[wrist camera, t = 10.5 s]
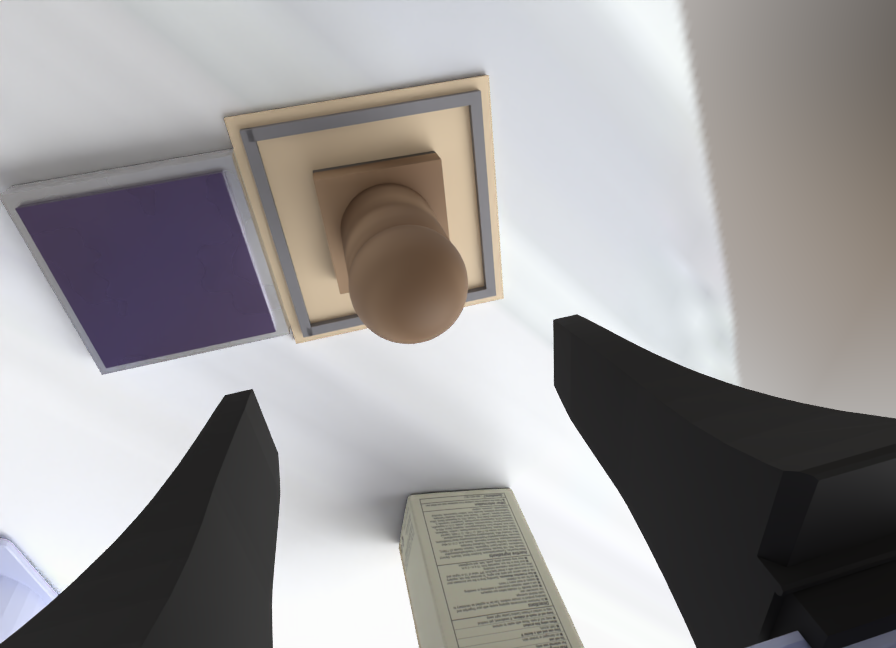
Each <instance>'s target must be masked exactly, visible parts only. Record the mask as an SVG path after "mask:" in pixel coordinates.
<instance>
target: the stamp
mask: <svg viewBox="0 0 896 648" xmlns="http://www.w3.org/2000/svg"><path fill="white" fill-rule="evenodd" d="M313 181H314V185H315V189H316V193H317V198H318V202H319V206H320V210H321V215H322V219H323V223H324V228H325V232H326V236H327V240H328V245H329V249H330V253H331V257H332V262H333V266H334V270H335V274H336V279H337V283H338V287H339V292H340V294H345V293H349V295H350V299H351V302H352V305H353V308H354V310H355V312H356V314H357V315H358V317H359V318H360V320H361V321H362V322H363V323H364V324H365V326H366V327H368V328H369V329H370V330H371V331H372V332H374V333H375V334H377V335H378V336H380V337H382V338H384V339H386V340H389V341H392V342H396V343H402V344H415V343H421V342H425V341H428V340H431V339H433V338H435V337H437V336H439V335H440V334H442V333H443V332H445V331H446V330H447V329H449V328H450V327H451V326H452V325H453V324H454V322H455V321H456V320H457V318H458V317H459V315H460V313H461V312H462V310H463V307H464V305H465V302H466V298H467V293H468V276H467V270H466V267H465V264H464V261H463V259H462V257H461V255H460V253H459V252H458V250H457V249H456V247H455V246H454V245H453V244H452V243H451V241H450V238H449V228H448V219H447V209H446V199H445V190H444V180H443V170H442V161H441V158H440V157H439V156H438V155H437V153H436V152H435V151H429V152H423V153H417V154H411V155H405V156H399V157H392V158H386V159H380V160H374V161H368V162H362V163H355V164H349V165H343V166H337V167H331V168H325V169H318V170H313Z"/></svg>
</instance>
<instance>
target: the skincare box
mask: <svg viewBox="0 0 896 648" xmlns="http://www.w3.org/2000/svg"><path fill="white" fill-rule="evenodd" d="M399 550H400V555H401V560H402V565H403V570H404V575H405V580H406V585H407V590H408V594H409V599H410V604H411V609H412V614H413V619H414V624H415V629H416V634H417V639H418V644H419V648H584V646H583V644H582V642H581V640H580V638H579V636H578V633H577V631H576V629H575V627H574V624H573V622H572V620H571V618H570V615H569V613H568V611H567V609H566V607H565V605H564V602H563V600H562V598H561V596H560V594H559V592H558V589H557V587H556V585H555V583H554V581H553V578H552V576H551V574H550V572H549V570H548V568H547V566H546V563H545V561H544V559H543V557H542V555H541V552H540V550H539V548H538V546H537V544H536V541H535V539H534V537H533V535H532V533H531V531H530V528H529V526H528V524H527V522H526V520H525V518H524V515H523V513H522V511H521V509H520V507H519V504H518V502H517V500H516V498H515V496H514V494H513V491H512V490H511V489H509V488H506V489H486V490H471V491H457V492H438V493H429V494H418V495H410V496H409V497H408V499H407V504H406V509H405V513H404V519H403V524H402V530H401V536H400V543H399Z"/></svg>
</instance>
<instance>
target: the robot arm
mask: <svg viewBox="0 0 896 648" xmlns="http://www.w3.org/2000/svg"><path fill="white" fill-rule="evenodd" d="M553 331H554V386H555V388H556V391H557V393H558V395H559V397H560V399H561V401H562V403H563V405H564V407H565V409H566V411H567V413H568V415H569V417H570V419H571V421H572V422H573V424H574V425H575V427H576V428H577V430H578V431H579V433H580V434H581V436H582V437H583V439H584V440H585V442H586V443H587V445H588V446H589V448H590V449H591V451H592V452H593V454H594V455H595V457H596V458H597V460H598V461H599V463H600V464H601V466H602V467H603V469H604V470H605V472H606V473H607V475H608V476H609V478H610V479H611V481H612V482H613V483H614V485H615V486H616V488H617V489H618V491H619V493H620V494H621V496H622V498H623V499H624V501H625V503H626V504H627V506H628V508H629V510H630V512H631V514H632V515H633V517H634V519H635V521H636V523H637V525H638V527H639V529H640V531H641V532H642V534H643V536H644V538H645V540H646V542H647V544H648V546H649V548H650V550H651V552H652V554H653V556H654V558H655V560H656V562H657V564H658V566H659V568H660V570H661V572H662V574H663V576H664V578H665V580H666V582H667V584H668V586H669V589H670V591H671V593H672V595H673V597H674V599H675V601H676V603H677V606H678V608H679V610H680V612H681V614H682V616H683V618H684V620H685V623H686V625H687V627H688V629H689V632H690V634H691V636H692V638H693V641H694V643H695V645H696V648H896V419H895V418H888V417H881V416H874V415H867V414H860V413H853V412H846V411H840V410H834V409H829V408H824V407H819V406H814V405H809V404H803V403H799V402H795V401H791V400H786V399H782V398H778V397H774V396H770V395H767V394H763V393H759V392H756V391H752V390H749V389H745V388H742V387H739V386H736V385H732V384H729V383H726V382H724V381H721V380H718V379H715V378H712V377H709V376H706V375H704V374H701V373H698V372H696V371H693V370H691V369H688V368H686V367H683V366H681V365H679V364H677V363H674V362H672V361H670V360H667V359H665V358H663V357H661V356H658V355H656V354H654V353H652V352H650V351H648V350H646V349H644V348H642V347H640V346H638V345H636V344H634V343H632V342H630V341H628V340H626V339H624V338H622V337H620V336H618V335H616V334H614V333H613V332H611V331H609V330H607V329H605V328H603V327H601V326H599V325H597V324H595V323H594V322H592V321H590V320H588V319H586V318H584V317H581V316H579V315H572V316H568V317H564V318H559V319H555V320H553ZM279 504H280V475H279V459H278V452H277V449H276V447H275V444H274V442H273V439H272V437H271V434H270V432H269V429H268V427H267V424H266V422H265V419H264V417H263V414H262V412H261V409H260V407H259V404H258V402H257V399H256V397H255V394H254V391H253V389H251V390H246V391H242V392H237V393H233V394H229V395H225V396H224V398H223V399H222V401H221V402H220V404H219V405H218V406H217V408H216V409H215V411H214V412H213V414H212V416H211V417H210V419H209V420H208V422H207V423H206V425H205V426H204V428H203V429H202V431H201V432H200V434H199V435H198V437H197V439H196V440H195V442H194V443H193V444H192V446H191V447H190V449H189V450H188V452H187V453H186V455H185V456H184V457H183V459H182V460H181V462H180V463H179V465H178V466H177V468H176V469H175V470H174V471H173V473H172V474H171V475H170V477H169V478H168V479H167V481H166V482H165V483H164V485H163V486H162V487H161V489H160V490H159V491H158V492H157V494H156V495H155V496H154V498H153V499H152V500H151V501H150V503H149V504H148V505H147V506H146V507H145V508H144V510H143V511H142V512H141V513H140V514H139V515H138V517H137V518H136V519H135V520H134V521H133V522H132V523H131V524H130V525H129V527H128V528H127V529H126V530H125V531H124V532H123V533H122V534H121V535H120V536H119V538H118V539H117V540H116V541H115V542H114V543H113V544H112V545H111V546H110V547H109V548H108V549H107V550H106V551H105V552H104V553H103V554H102V555H101V556H100V557H99V558H98V559H96V560H95V561H94V562H93V563H92V564H91V565H90V566H89V567H88V568H87V569H86V570H85V571H84V572H83V573H82V574H81V575H80V576H79V577H78V578H77V579H76V580H75V581H74V582H73V583H72V584H71V585H69V586H68V587H67V588H66V589H65V590H64V591H63V592H62V593H61V594H59V595H58V594H57V593H56V592H55V591H54V590H53V588H52V587H51V586H50V585H49V584H48V583H47V582H46V581H45V579H44V578H43V577H42V576H41V575H40V574H39V573H38V571H37V570H36V569H35V568H34V567H33V566H32V565H31V563H30V562H29V561H28V560H27V559H26V558H25V557H24V556H23V554H22V553H21V552H20V551H19V550H18V549H17V548H16V546H15V545H14V544H13V543H12V542H11V541H9V540H7V539H3V538H0V648H273V638H272V589H273V575H274V563H275V552H276V540H277V529H278V516H279Z"/></svg>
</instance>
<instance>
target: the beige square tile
mask: <svg viewBox="0 0 896 648" xmlns="http://www.w3.org/2000/svg"><path fill="white" fill-rule="evenodd" d="M224 121H225V124H226V127H227V130H228V133H229V136H230V140H231V143H232V146H233V149H234V152H235V155H236V158H237V161H238V164H239V167H240V171H241V174H242V177H243V180H244V183H245V186H246V189H247V192H248V195H249V199H250V202H251V205H252V208H253V211H254V214H255V217H256V220H257V223H258V226H259V230H260V233H261V236H262V239H263V242H264V245H265V248H266V251H267V254H268V257H269V261H270V264H271V267H272V270H273V273H274V276H275V279H276V282H277V285H278V289H279V292H280V295H281V298H282V301H283V304H284V307H285V310H286V313H287V316H288V320H289V323H290V326H291V329H292V332H293V335H294V338H295V341H296V344H298V343H302V342H307V341H311V340H316V339H321V338H325V337H330V336H334V335H339V334H343V333H348V332H352V331H357V330H362V329H366V328H368V327H366V326H365V324H364V323H363V322H362V321H361V320H360V318H359V317H358V315H357V314H356V312H355V310H354V308H353V305H352V302H351V299H350V295H349V293H345V294H340V292H339V287H338V283H337V279H336V274H335V270H334V266H333V262H332V257H331V253H330V249H329V245H328V240H327V236H326V232H325V228H324V223H323V219H322V215H321V210H320V206H319V202H318V198H317V193H316V189H315V185H314V181H313V170H318V169H325V168H331V167H337V166H343V165H349V164H355V163H362V162H368V161H374V160H380V159H386V158H392V157H399V156H405V155H411V154H417V153H423V152H429V151H435V152H436V153H437V155H438V156H439V157H440V158H441V161H442V170H443V180H444V190H445V199H446V209H447V219H448V228H449V238H450V241H451V243H452V244H453V245H454V246H455V247H456V249H457V250H458V252H459V253H460V255H461V257H462V259H463V261H464V264H465V267H466V270H467V276H468V293H467V298H466V302H465V305H464V307H466V306H471V305H476V304H480V303H485V302H489V301H494V300H498V299H503V298H504V297H503V282H502V267H501V252H500V237H499V222H498V207H497V192H496V177H495V162H494V147H493V132H492V117H491V102H490V87H489V75H483V76H477V77H470V78H464V79H458V80H452V81H446V82H440V83H433V84H427V85H421V86H415V87H409V88H403V89H397V90H390V91H384V92H378V93H372V94H366V95H360V96H353V97H347V98H341V99H335V100H329V101H323V102H316V103H310V104H304V105H298V106H292V107H286V108H280V109H273V110H267V111H261V112H255V113H249V114H243V115H236V116H230V117H224Z"/></svg>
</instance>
